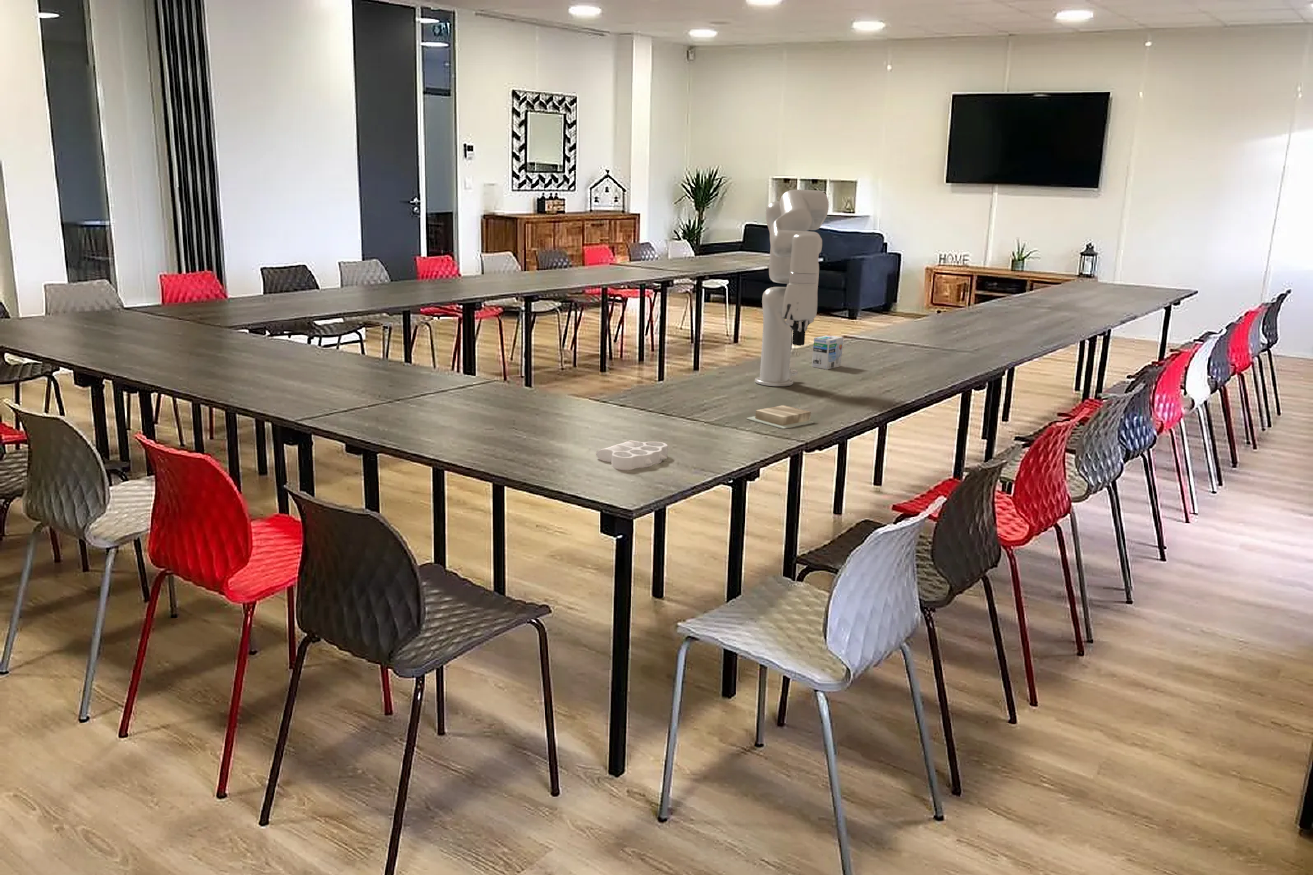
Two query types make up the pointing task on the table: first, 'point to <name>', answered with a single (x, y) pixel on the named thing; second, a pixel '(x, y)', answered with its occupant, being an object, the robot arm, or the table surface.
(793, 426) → the mat
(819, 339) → the light bulb box
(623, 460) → the white muffin tray
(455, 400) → the table surface
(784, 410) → the birch tile
